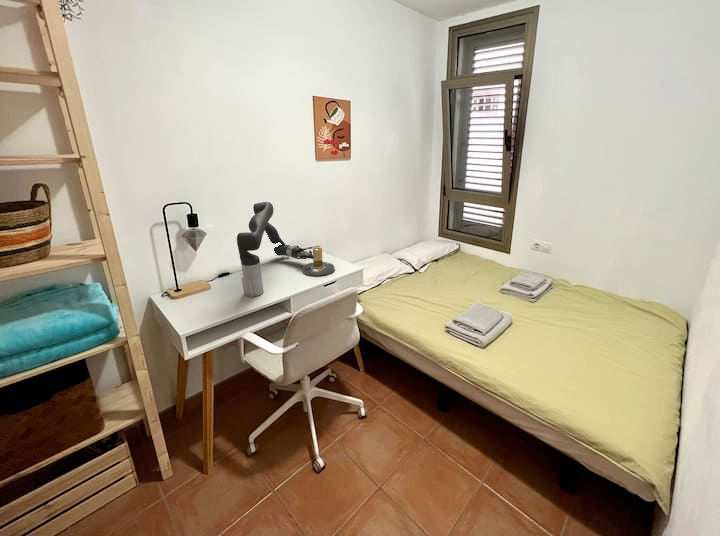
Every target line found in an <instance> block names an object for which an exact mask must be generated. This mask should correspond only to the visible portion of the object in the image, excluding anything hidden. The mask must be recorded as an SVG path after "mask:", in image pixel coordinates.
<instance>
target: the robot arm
mask: <svg viewBox="0 0 720 536" xmlns="http://www.w3.org/2000/svg"><path fill="white" fill-rule="evenodd" d="M253 214H254V215H253V216H252V217H251V218H250V220H249V222H248V229H249V231H250V232H249V231H248V232H247V231H246V232H239V233H237V236H236V243H237V244H236V245H237V250H238V253H239V259H240V263H241V264H240V265H241V271H242V278H241V283H242V290H243V295H244V296H247V297H249V298H253V297H258V296H260V295H263V294H264V286H263V285H264V284H263V277H262V269H261V261H260V257H259V256H258V255H257V254H255V253H251V252H250V251H257V250H259V249H260V247H261V244H262V241H263V240H262V239H263V236H264V232H265V234H266V233H267V234H266V236H267V235H268V236H267V238H268V237H269V238H268V240H269V239H270V241H271V242H272V243H273V245H274V244H276V243H278V242H280V243H281V244H282V245H279V246H278V247H275V248H274V251H275V253H276V254H277V255H278V256H279V257H281V256H286V257H287V256H288V257H290V258H292V259H296V260H309V259H311V260H313V250H312V249H311V250H308V251H306V250H304V248H303V247H299V246H295V245H290V244H286V243H285V242H284V241H283V239H282V238H281V237H280V234H279V232H278V230H277V228H276V227H275V226H274V225H272V224H271V223H269V221H270V219H271V218H272V217H273V215H274V205H273V204H272V203H271V202H270V201H263V202H257V203H254V204H253ZM270 241H269V242H270ZM271 242H270V243H271ZM272 243H271V244H272ZM277 255H276V256H277Z"/></svg>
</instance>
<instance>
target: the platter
mask: <svg viewBox="0 0 720 536" xmlns="http://www.w3.org/2000/svg"><path fill="white" fill-rule="evenodd" d="M323 264H324V268H322V269H314V268H313V265H314V262H309V263H306V264H304V265H303V266H302V268H301V273H302V274H303V275H306V276H310V277H322V276H328V275H330V274H332V273H334V271H335V265H334V264H332V263H331V262H327V261H323Z"/></svg>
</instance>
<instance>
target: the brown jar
mask: <svg viewBox="0 0 720 536" xmlns="http://www.w3.org/2000/svg"><path fill="white" fill-rule="evenodd" d="M312 255H313V259H312V260H313V262H314V265H313V268H314V269H322V268H324V264H323V262H324V261H323V248H322V247H313V248H312ZM313 262H312V263H313Z"/></svg>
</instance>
